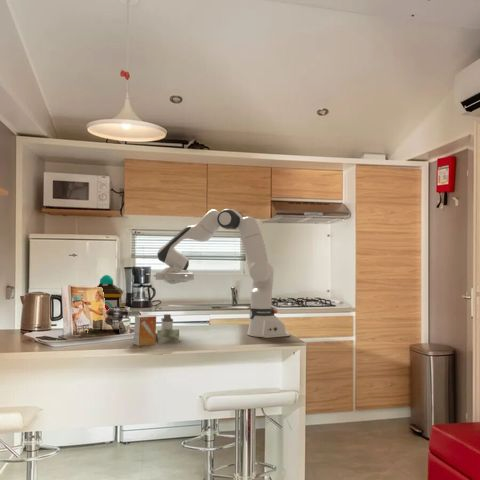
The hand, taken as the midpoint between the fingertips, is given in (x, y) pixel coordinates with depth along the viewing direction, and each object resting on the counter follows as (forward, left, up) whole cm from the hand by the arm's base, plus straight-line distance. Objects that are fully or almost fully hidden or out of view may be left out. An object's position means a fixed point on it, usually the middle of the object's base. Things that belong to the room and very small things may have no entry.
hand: (177, 276), depth 231 cm
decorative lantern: (+34, -21, -30) cm, 50 cm away
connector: (+7, +14, -29) cm, 33 cm away
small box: (+18, +20, -30) cm, 41 cm away
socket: (+7, +14, -30) cm, 34 cm away
